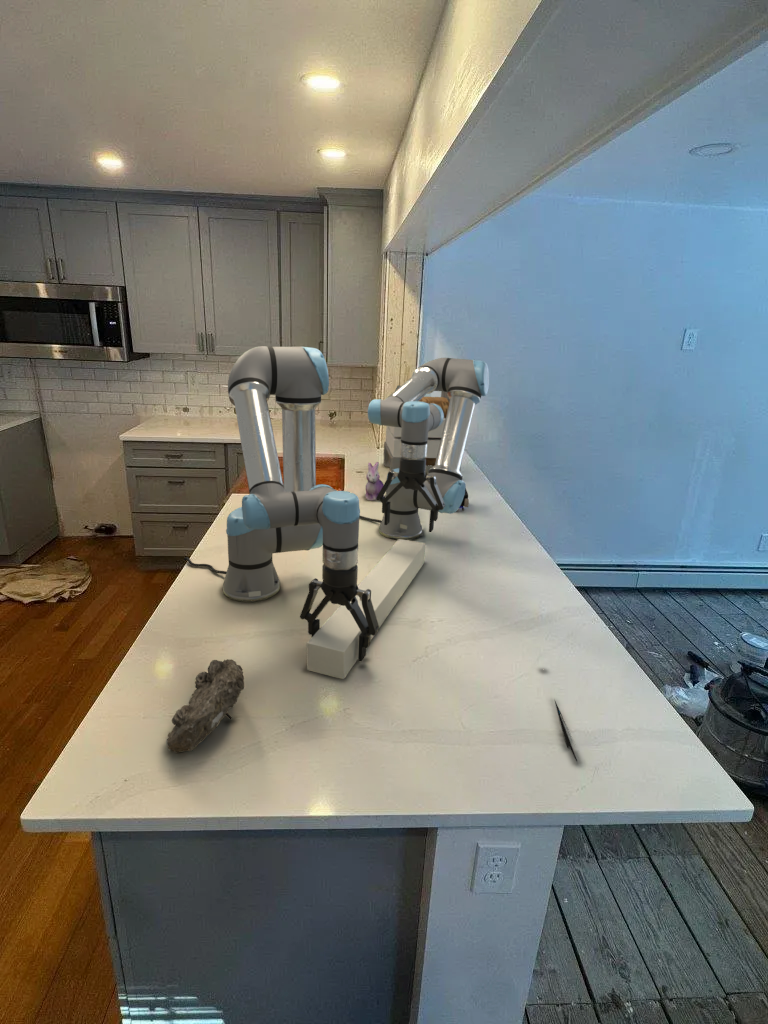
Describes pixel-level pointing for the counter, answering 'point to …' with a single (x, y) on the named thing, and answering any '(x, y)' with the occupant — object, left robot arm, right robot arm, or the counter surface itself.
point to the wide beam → (340, 633)
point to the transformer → (433, 441)
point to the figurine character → (465, 501)
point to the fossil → (206, 705)
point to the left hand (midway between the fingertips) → (338, 652)
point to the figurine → (373, 482)
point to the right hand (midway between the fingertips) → (408, 527)
